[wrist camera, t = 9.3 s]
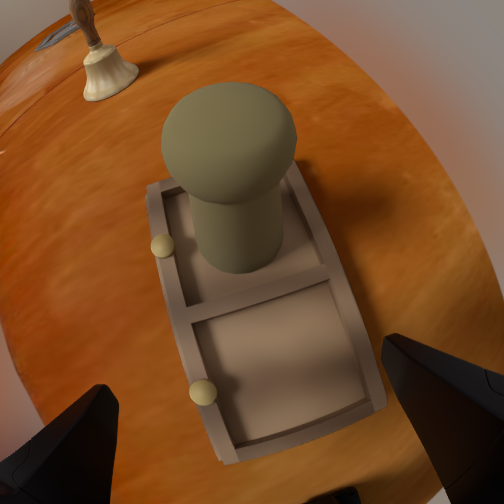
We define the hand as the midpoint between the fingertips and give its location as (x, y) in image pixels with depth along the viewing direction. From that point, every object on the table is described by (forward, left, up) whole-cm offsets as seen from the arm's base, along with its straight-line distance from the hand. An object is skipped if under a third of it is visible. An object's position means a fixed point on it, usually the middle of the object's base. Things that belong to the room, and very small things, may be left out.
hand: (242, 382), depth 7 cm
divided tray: (+4, -2, -10) cm, 11 cm away
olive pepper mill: (+8, -2, -9) cm, 13 cm away
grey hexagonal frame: (+85, +28, -11) cm, 90 cm away
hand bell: (+36, +8, -11) cm, 38 cm away
